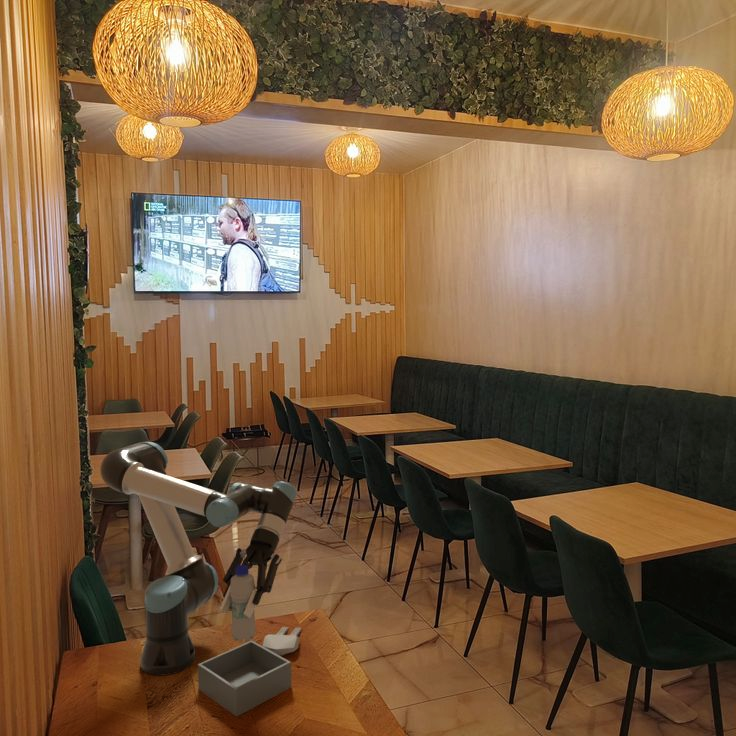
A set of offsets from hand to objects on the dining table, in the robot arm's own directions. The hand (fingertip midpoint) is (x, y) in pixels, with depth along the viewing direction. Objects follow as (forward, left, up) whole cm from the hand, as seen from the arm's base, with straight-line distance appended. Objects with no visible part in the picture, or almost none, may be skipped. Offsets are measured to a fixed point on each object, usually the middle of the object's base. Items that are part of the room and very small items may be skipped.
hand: (235, 613), depth 166 cm
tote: (-1, +3, -22) cm, 23 cm away
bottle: (-1, +3, -9) cm, 9 cm away
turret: (-12, +26, -23) cm, 36 cm away
